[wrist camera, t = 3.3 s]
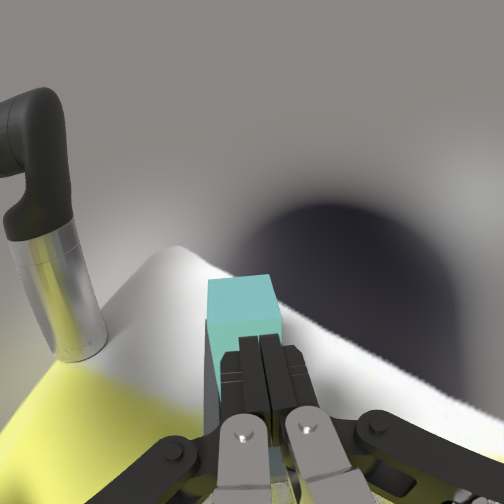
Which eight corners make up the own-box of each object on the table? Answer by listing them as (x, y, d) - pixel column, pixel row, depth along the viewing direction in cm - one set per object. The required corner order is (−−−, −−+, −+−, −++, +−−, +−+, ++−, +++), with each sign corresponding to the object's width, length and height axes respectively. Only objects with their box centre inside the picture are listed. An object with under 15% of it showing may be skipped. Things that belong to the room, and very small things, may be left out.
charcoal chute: (313, 476, 21) (317, 462, 20) (207, 488, 20) (201, 475, 19) (273, 322, 42) (273, 303, 41) (207, 328, 41) (204, 310, 40)
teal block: (280, 419, 26) (281, 317, 21) (225, 424, 25) (206, 324, 20) (270, 374, 31) (268, 274, 26) (222, 378, 31) (208, 279, 26)
